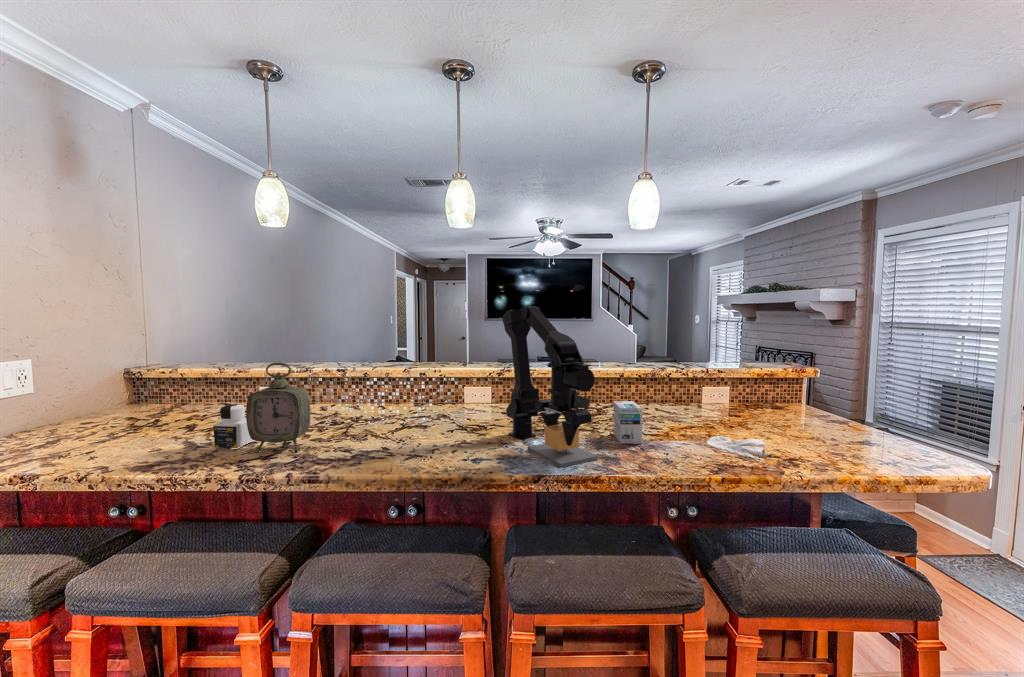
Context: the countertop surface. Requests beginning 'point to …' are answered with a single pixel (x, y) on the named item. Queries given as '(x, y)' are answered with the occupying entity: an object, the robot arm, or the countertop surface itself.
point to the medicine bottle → (231, 428)
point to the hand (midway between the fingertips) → (561, 441)
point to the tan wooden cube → (559, 438)
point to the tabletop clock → (278, 412)
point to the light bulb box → (628, 422)
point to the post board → (562, 455)
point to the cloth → (739, 446)
